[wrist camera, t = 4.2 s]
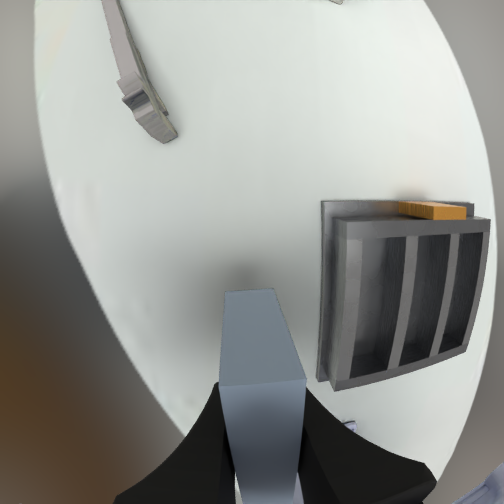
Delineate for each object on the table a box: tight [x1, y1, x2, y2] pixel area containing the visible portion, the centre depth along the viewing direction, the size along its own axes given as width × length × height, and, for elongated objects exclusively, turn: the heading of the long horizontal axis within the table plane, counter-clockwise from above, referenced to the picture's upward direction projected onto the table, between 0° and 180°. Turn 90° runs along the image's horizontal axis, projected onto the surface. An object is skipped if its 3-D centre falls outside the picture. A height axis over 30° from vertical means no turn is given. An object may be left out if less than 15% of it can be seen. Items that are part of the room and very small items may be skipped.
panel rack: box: [316, 201, 491, 392], centre depth 17 cm, size 14×15×5 cm
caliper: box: [101, 0, 178, 144], centre depth 11 cm, size 21×1×6 cm, turn 24°
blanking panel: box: [219, 288, 307, 504], centre depth 10 cm, size 8×2×6 cm, turn 3°
